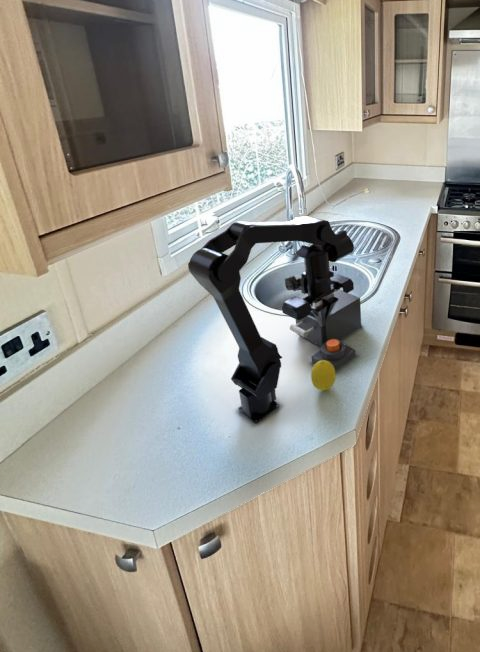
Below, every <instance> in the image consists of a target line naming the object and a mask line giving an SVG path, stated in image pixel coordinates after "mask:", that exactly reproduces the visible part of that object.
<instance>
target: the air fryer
mask: <svg viewBox="0 0 480 652" xmlns="http://www.w3.org/2000/svg"><path fill="white" fill-rule="evenodd" d="M334 297H336V298H338V301H337V302H336V304H335V306H334V307H333V309H332V311H331V313H330V315H329V318H328V320H327V322H326V324H325V326H324V330H325V342H327V341H328V340H331V339H337V340H339V341H343V339H345V338H346V337H349V335H351V334H353V333H354V332H356V331H357V330H359V329H360V328H362V311H361V297H359V296H357V295H355V294H352V293H350V292H348V293H345V292H343V289H340V290H338V291H336V292H334ZM310 314H312V315H314V314H313V312H312V311H311V313H310Z"/></svg>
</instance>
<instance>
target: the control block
mask: <svg viewBox="0 0 480 652" xmlns="http://www.w3.org/2000/svg"><path fill="white" fill-rule="evenodd" d="M338 341H339V340H338ZM339 346H340V348H339V350H338V351H334V352H329V351H328V350H327V342H325V343H324V344H322V347H321V346H320V350H319V351H317V352H316V353H314V354H313V355H310V357H311V358H310V359H311V364H312V365H313V366H314V365H315V364H316V363H317V362H318V361H321V360H326V361H329V362H330V363H331V364H332V365H333V367H334V369H335V372H337V371H338V370H340V369H341V368H343V367H344V366H345V365H347V364H348V363H349V362H351V361H352V360H354V358H356V355H357V352H356V351H357V350H356V349H355V348H353V347H351V346H349V345H348V344H345V342H343V341H342V340H340V341H339Z"/></svg>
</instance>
